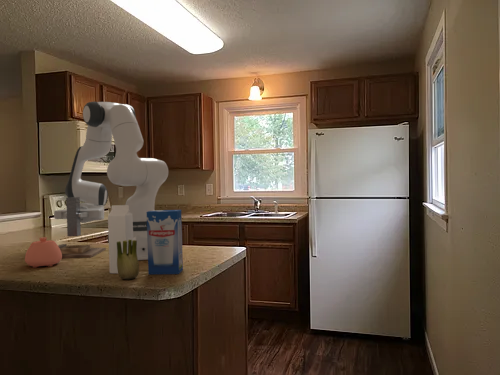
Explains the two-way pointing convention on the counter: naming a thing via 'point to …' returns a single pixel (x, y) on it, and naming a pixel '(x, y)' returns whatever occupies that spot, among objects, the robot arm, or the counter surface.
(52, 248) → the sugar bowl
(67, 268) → the counter surface
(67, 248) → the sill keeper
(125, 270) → the fennel bulb
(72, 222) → the bar
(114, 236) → the milk
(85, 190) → the robot arm
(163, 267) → the milk carton
